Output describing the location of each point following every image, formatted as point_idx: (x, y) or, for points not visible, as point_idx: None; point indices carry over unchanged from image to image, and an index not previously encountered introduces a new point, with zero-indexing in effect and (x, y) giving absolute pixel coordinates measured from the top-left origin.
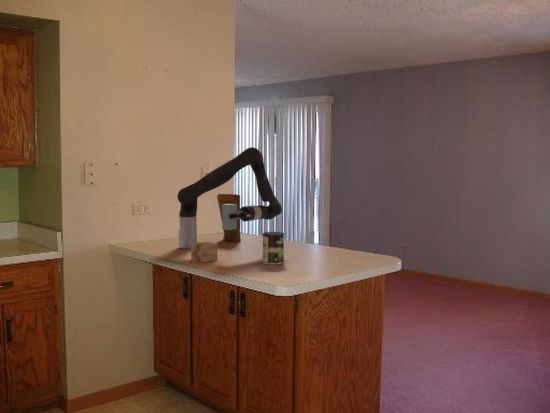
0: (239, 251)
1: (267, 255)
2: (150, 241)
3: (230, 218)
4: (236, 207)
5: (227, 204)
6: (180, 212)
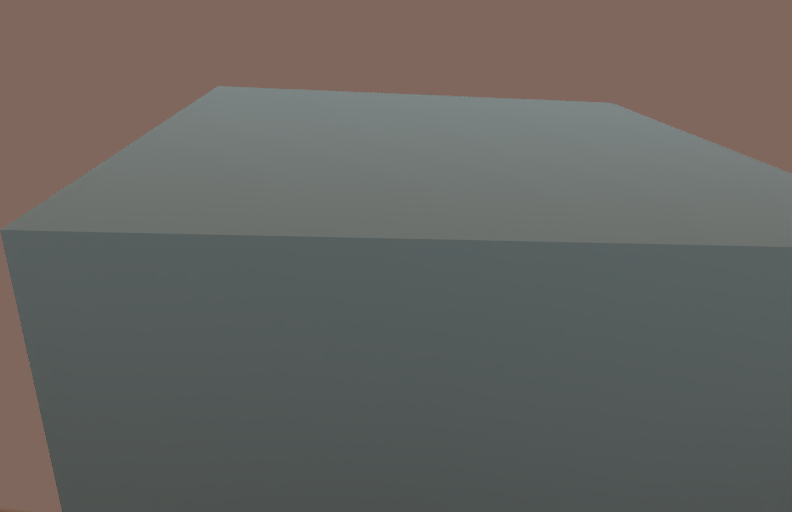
0: None
1: None
2: None
3: None
4: (72, 445)
5: (479, 119)
6: None
